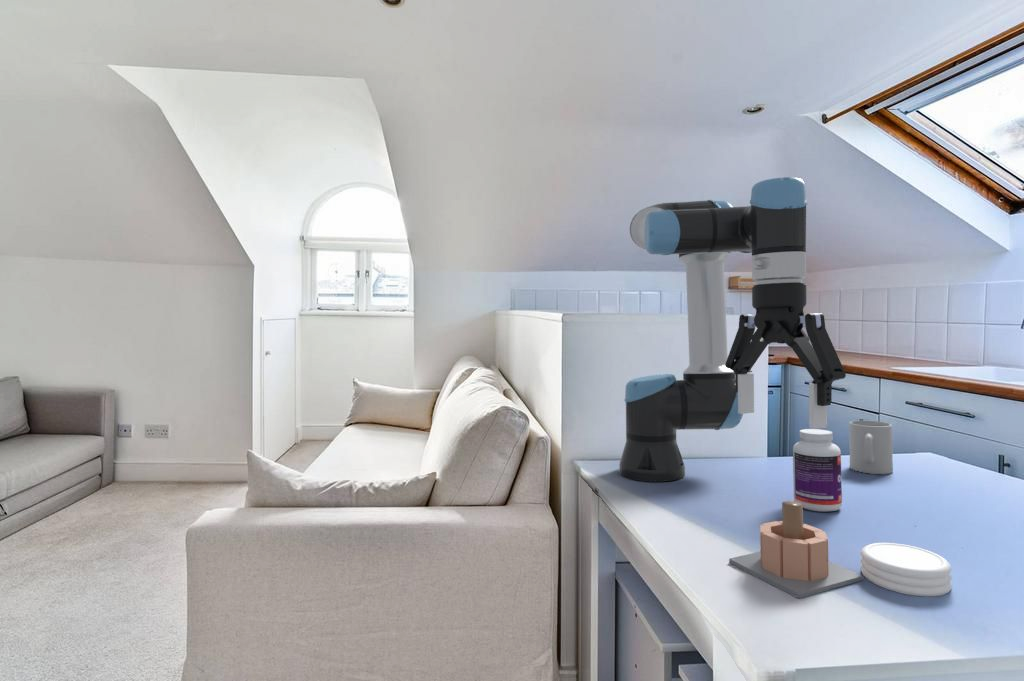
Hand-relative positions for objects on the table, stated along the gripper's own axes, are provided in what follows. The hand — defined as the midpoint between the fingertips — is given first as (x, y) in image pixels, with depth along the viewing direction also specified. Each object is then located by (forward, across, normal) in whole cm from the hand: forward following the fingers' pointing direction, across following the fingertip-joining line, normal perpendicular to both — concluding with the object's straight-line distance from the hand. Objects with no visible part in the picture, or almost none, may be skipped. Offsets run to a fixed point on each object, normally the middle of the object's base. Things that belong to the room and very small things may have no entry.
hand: (779, 420), depth 86 cm
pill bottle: (+21, -11, +22) cm, 32 cm away
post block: (+20, +7, -5) cm, 22 cm away
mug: (+22, -24, +54) cm, 63 cm away
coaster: (+20, +15, +6) cm, 26 cm away
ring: (+19, +7, -5) cm, 21 cm away
